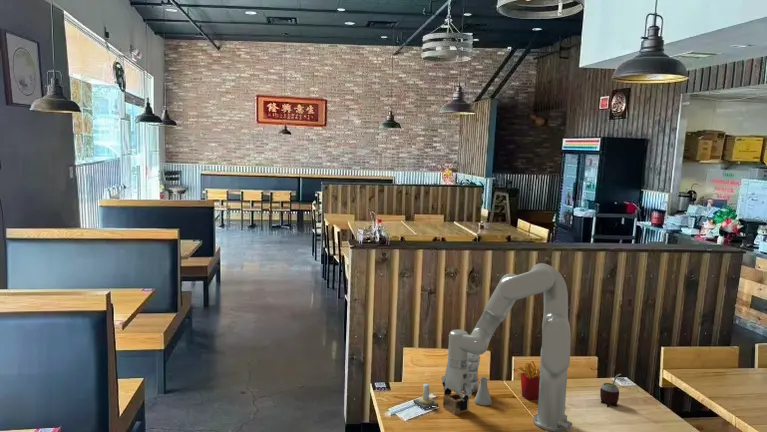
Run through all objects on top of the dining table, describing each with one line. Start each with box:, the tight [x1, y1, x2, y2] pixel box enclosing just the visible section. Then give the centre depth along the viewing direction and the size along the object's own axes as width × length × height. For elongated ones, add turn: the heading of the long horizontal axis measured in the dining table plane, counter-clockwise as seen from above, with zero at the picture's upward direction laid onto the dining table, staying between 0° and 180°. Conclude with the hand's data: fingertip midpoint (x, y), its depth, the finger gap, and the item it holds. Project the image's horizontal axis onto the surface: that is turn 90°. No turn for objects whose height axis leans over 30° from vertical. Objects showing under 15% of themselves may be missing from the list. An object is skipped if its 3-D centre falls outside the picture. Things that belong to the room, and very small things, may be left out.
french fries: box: [518, 360, 540, 402], centre depth 218 cm, size 9×8×15 cm
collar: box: [442, 392, 470, 416], centre depth 205 cm, size 7×7×5 cm
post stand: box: [412, 383, 439, 410], centre depth 208 cm, size 7×7×8 cm
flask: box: [473, 376, 493, 406], centre depth 212 cm, size 7×7×10 cm
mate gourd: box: [599, 373, 622, 408], centre depth 213 cm, size 8×8×15 cm
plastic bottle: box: [467, 352, 481, 393], centre depth 223 cm, size 6×7×20 cm
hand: (455, 404), depth 205 cm, fingers open, 9 cm apart
